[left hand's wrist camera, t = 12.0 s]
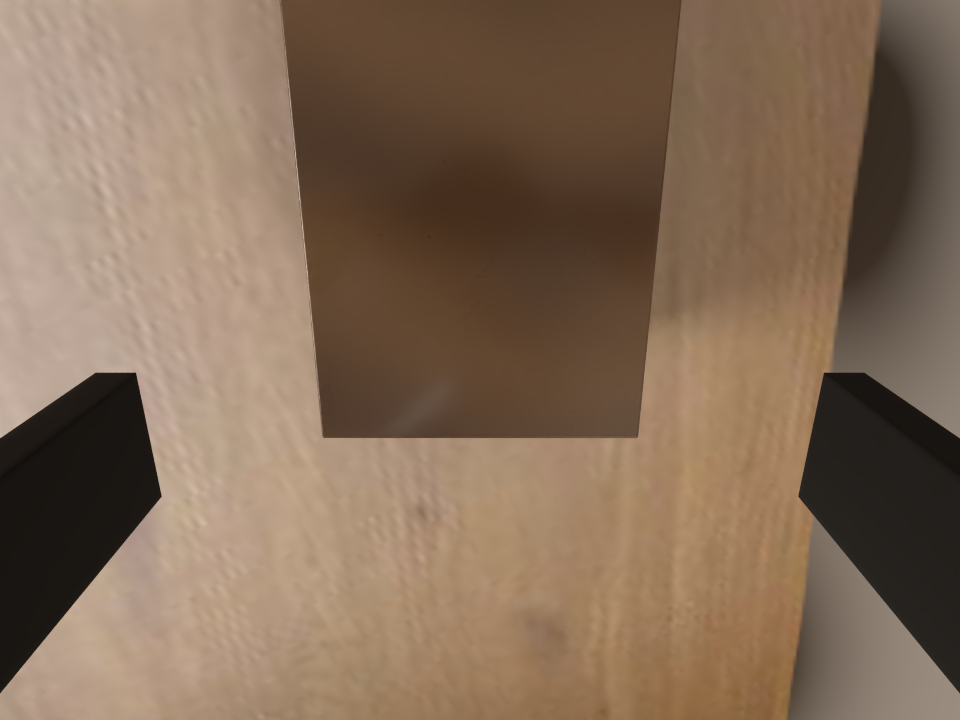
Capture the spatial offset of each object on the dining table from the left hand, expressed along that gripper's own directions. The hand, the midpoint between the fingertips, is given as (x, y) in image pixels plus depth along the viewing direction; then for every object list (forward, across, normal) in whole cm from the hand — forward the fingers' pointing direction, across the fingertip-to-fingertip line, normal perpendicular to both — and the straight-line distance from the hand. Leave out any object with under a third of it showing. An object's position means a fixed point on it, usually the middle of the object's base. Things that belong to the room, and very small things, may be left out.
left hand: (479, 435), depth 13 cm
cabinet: (+17, 0, -4) cm, 18 cm away
